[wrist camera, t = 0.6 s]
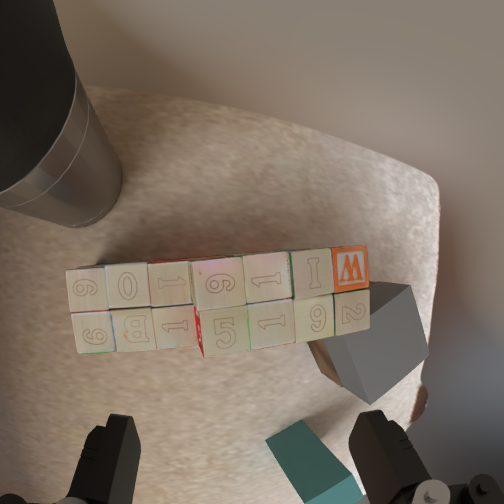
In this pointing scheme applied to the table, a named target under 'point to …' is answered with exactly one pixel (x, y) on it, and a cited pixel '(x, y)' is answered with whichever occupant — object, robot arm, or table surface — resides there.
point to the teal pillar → (313, 467)
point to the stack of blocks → (220, 301)
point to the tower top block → (381, 344)
